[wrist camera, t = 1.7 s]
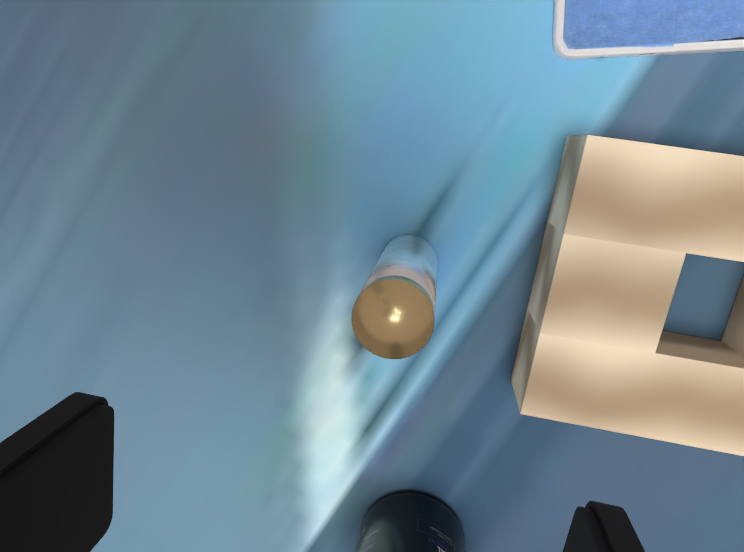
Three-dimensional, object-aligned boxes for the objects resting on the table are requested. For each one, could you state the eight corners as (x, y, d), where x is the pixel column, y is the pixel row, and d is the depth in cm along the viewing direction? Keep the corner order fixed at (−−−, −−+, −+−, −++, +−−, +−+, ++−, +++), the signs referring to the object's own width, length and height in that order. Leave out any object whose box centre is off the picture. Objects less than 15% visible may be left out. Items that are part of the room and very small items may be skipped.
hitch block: (566, 135, 27) (587, 134, 23) (900, 181, 25) (981, 189, 22) (510, 379, 31) (520, 413, 27) (798, 432, 29) (851, 476, 25)
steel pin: (385, 230, 29) (357, 274, 20) (441, 239, 29) (440, 288, 20) (377, 284, 30) (346, 351, 21) (432, 293, 30) (426, 365, 20)
